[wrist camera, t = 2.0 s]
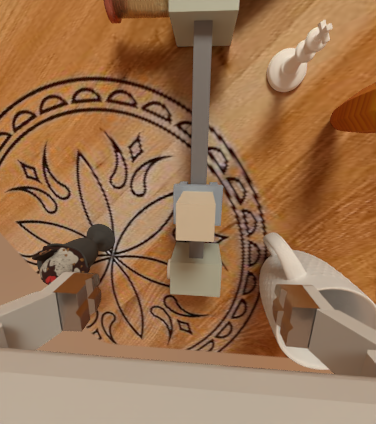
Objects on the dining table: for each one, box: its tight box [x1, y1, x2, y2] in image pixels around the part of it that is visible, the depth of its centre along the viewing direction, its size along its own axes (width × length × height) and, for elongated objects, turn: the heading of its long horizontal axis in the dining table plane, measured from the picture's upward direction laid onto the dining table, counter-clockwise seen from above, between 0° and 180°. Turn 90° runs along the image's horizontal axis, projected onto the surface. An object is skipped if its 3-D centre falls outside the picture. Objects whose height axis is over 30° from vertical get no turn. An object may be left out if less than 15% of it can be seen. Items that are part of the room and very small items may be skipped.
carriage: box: [174, 182, 223, 242], centre depth 25 cm, size 6×5×11 cm
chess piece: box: [267, 20, 332, 92], centre depth 23 cm, size 5×5×10 cm
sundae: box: [32, 224, 115, 285], centre depth 29 cm, size 7×7×15 cm
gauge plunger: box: [104, 0, 170, 23], centre depth 24 cm, size 10×3×3 cm, turn 89°
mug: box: [259, 233, 376, 370], centre depth 28 cm, size 15×11×13 cm
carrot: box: [330, 83, 376, 133], centre depth 22 cm, size 5×5×15 cm
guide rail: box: [167, 0, 239, 297], centre depth 28 cm, size 8×38×7 cm, turn 179°
